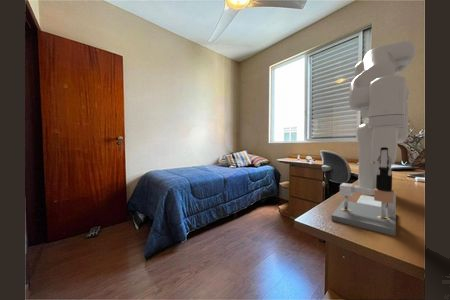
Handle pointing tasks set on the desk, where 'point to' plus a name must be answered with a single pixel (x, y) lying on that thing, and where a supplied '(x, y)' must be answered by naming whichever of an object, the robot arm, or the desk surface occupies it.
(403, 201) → the desk surface
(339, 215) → the bolt plate
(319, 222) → the desk surface
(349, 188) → the light grey bracket
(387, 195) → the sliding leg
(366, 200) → the hard drive
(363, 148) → the robot arm
